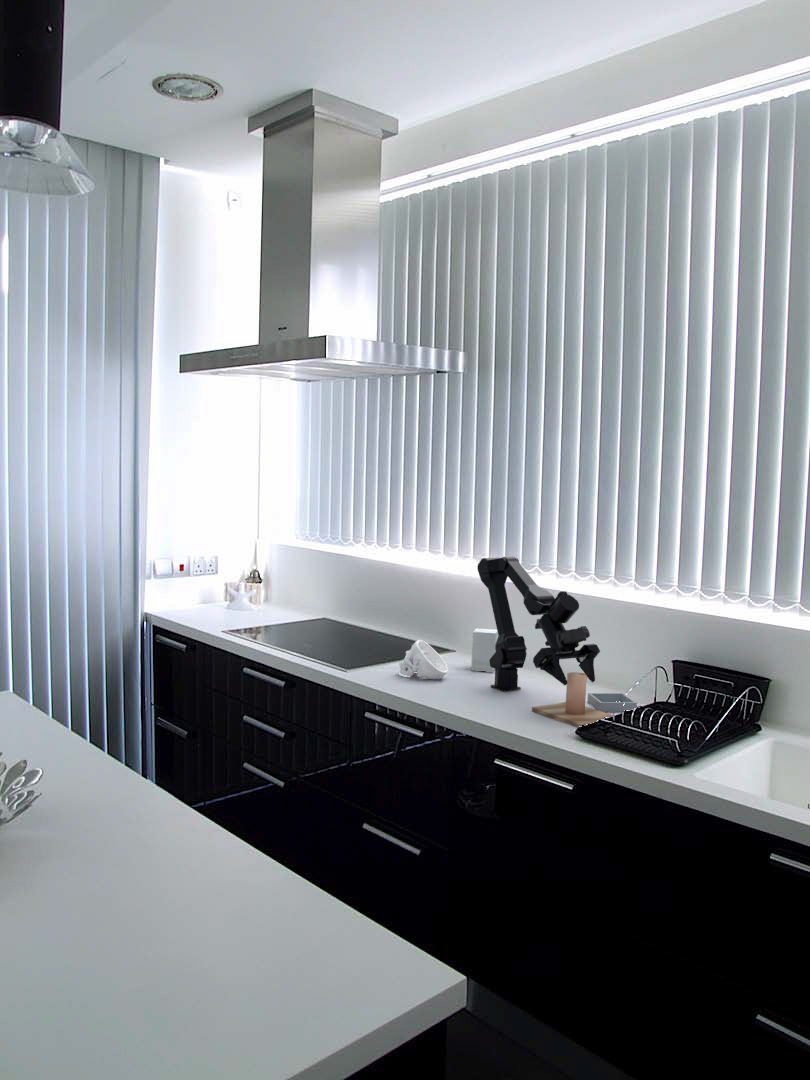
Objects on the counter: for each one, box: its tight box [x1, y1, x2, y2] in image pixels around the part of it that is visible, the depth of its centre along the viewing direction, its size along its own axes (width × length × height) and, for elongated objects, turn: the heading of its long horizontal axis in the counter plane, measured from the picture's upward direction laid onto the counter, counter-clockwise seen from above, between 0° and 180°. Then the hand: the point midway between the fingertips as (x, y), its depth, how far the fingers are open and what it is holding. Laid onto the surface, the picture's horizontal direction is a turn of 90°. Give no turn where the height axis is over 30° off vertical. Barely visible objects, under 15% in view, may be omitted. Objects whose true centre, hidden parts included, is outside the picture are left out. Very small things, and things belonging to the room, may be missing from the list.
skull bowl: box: [398, 639, 449, 680], centre depth 279 cm, size 10×14×12 cm
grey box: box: [586, 692, 638, 713], centre depth 252 cm, size 10×10×2 cm
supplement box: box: [470, 628, 498, 673], centre depth 292 cm, size 7×7×13 cm
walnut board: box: [531, 701, 615, 728], centre depth 242 cm, size 18×14×1 cm
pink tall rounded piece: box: [565, 671, 588, 715], centre depth 241 cm, size 5×5×10 cm
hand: (580, 682), depth 240 cm, fingers open, 9 cm apart
